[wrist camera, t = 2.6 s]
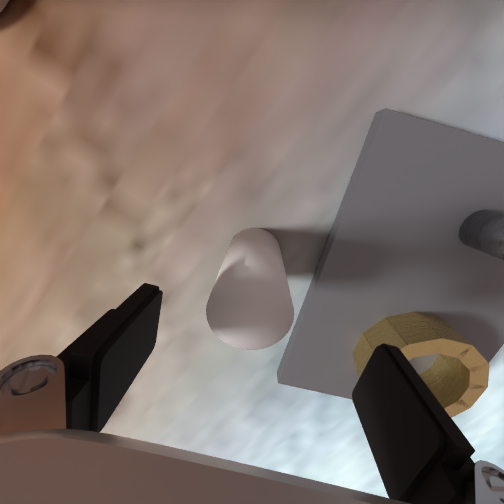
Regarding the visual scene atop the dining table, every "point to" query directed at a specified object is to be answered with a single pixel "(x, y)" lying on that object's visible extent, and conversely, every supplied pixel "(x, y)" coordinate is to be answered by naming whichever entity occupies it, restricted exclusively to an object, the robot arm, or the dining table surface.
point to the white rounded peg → (251, 293)
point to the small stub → (484, 232)
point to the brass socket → (426, 343)
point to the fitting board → (402, 250)
